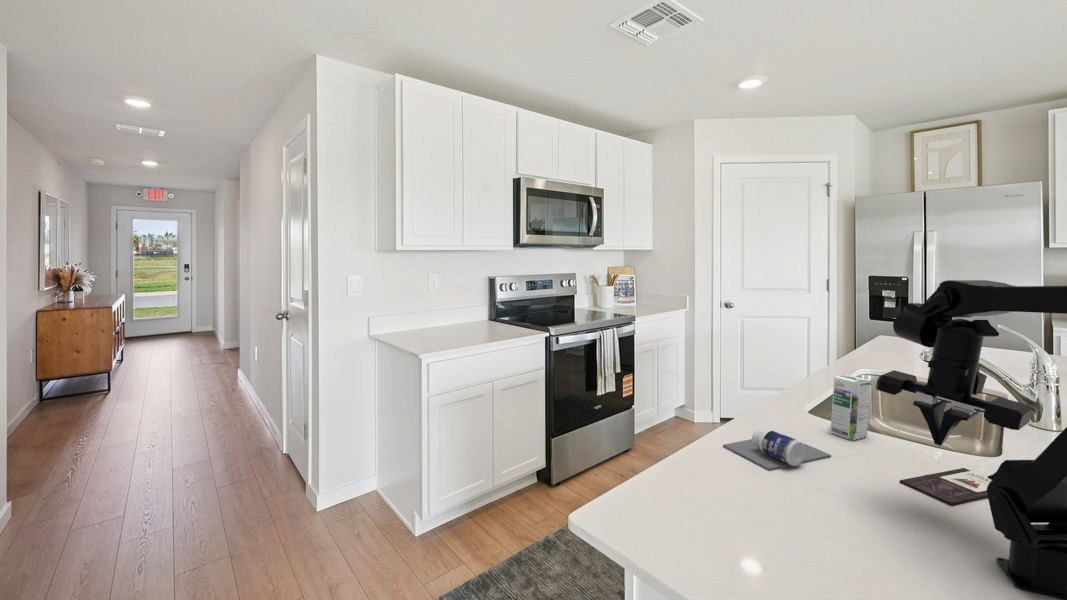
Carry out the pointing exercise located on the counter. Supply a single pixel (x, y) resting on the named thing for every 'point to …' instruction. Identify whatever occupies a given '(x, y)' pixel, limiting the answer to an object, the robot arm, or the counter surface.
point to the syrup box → (850, 407)
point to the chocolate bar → (951, 486)
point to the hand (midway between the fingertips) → (938, 444)
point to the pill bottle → (779, 446)
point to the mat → (768, 462)
